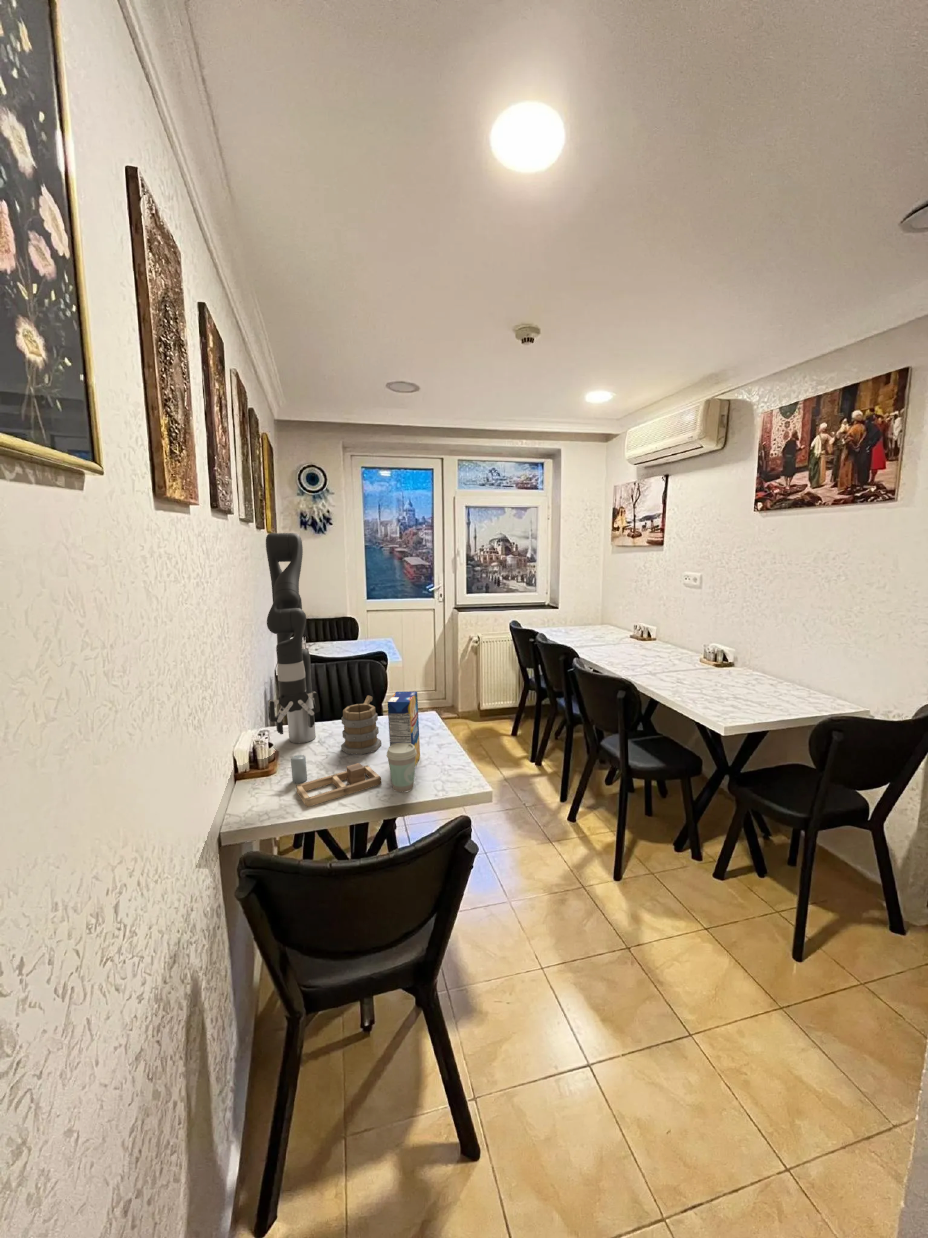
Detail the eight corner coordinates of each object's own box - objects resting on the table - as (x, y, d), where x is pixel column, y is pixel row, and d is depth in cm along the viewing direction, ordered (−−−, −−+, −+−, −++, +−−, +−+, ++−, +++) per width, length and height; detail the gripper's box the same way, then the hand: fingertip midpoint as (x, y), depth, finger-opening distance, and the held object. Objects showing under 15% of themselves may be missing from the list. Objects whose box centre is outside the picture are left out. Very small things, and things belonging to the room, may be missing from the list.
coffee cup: (405, 797, 135) (403, 756, 134) (382, 790, 140) (379, 750, 138) (424, 784, 142) (422, 745, 141) (401, 778, 147) (399, 739, 145)
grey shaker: (290, 779, 148) (288, 757, 147) (304, 775, 151) (302, 753, 150) (295, 784, 145) (293, 761, 144) (309, 780, 147) (307, 758, 146)
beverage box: (391, 770, 152) (387, 702, 149) (399, 755, 163) (396, 691, 160) (413, 771, 151) (409, 702, 148) (420, 756, 162) (417, 691, 159)
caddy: (296, 792, 140) (295, 785, 140) (367, 771, 152) (367, 765, 152) (307, 807, 132) (306, 800, 132) (381, 784, 144) (381, 777, 143)
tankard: (372, 755, 164) (370, 712, 162) (337, 754, 166) (333, 711, 164) (391, 733, 183) (388, 694, 181) (358, 732, 185) (356, 693, 183)
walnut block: (347, 782, 145) (346, 766, 145) (360, 778, 148) (359, 762, 147) (352, 787, 142) (351, 771, 141) (365, 783, 144) (364, 767, 144)
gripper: (312, 670, 150) (316, 721, 152) (262, 678, 142) (267, 732, 145) (319, 675, 144) (324, 728, 146) (268, 684, 136) (274, 740, 138)
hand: (296, 730), depth 145 cm, fingers open, 8 cm apart
